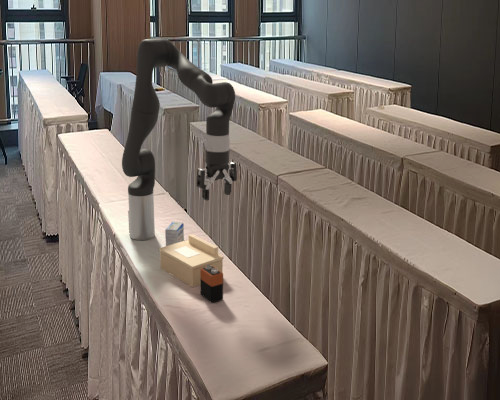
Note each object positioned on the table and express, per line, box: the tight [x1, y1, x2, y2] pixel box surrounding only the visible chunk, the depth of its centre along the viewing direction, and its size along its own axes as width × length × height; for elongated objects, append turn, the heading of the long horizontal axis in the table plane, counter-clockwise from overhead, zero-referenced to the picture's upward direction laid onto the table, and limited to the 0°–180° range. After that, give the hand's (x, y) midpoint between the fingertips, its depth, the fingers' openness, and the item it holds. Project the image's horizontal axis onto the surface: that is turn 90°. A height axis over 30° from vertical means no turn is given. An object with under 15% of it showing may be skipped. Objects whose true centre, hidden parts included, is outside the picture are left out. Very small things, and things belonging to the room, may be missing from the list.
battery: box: [200, 265, 224, 304], centre depth 191 cm, size 4×7×10 cm, turn 35°
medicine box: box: [164, 221, 185, 246], centre depth 226 cm, size 8×4×9 cm, turn 168°
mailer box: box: [159, 251, 224, 288], centre depth 208 cm, size 18×12×6 cm, turn 42°
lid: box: [158, 233, 224, 270], centre depth 206 cm, size 18×12×4 cm
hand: (216, 197), depth 200 cm, fingers open, 8 cm apart
